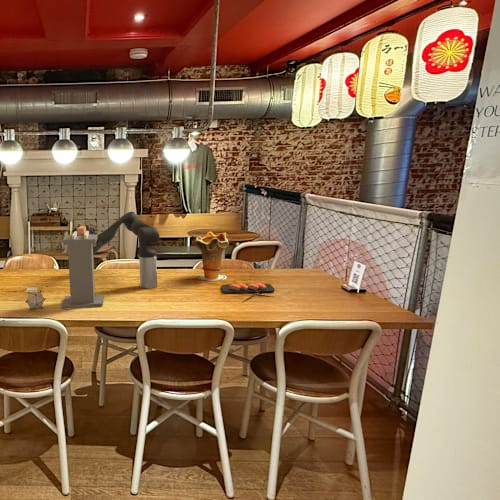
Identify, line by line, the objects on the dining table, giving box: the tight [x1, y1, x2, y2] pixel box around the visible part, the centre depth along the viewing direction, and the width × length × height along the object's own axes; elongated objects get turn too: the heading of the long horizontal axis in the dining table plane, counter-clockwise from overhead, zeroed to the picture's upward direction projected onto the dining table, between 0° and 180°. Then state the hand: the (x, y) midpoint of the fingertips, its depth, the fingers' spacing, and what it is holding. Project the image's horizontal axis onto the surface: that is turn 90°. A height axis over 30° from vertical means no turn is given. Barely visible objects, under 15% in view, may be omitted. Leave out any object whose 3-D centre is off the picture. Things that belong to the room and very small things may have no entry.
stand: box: [60, 231, 105, 310], centre depth 198 cm, size 18×17×34 cm
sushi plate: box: [220, 282, 275, 303], centre depth 223 cm, size 29×30×4 cm
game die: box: [24, 290, 47, 311], centre depth 190 cm, size 9×8×10 cm
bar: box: [76, 225, 86, 235], centre depth 212 cm, size 22×3×3 cm, turn 18°
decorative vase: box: [195, 231, 230, 282], centre depth 252 cm, size 21×23×28 cm
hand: (82, 226), depth 217 cm, fingers closed on bar, 3 cm apart
